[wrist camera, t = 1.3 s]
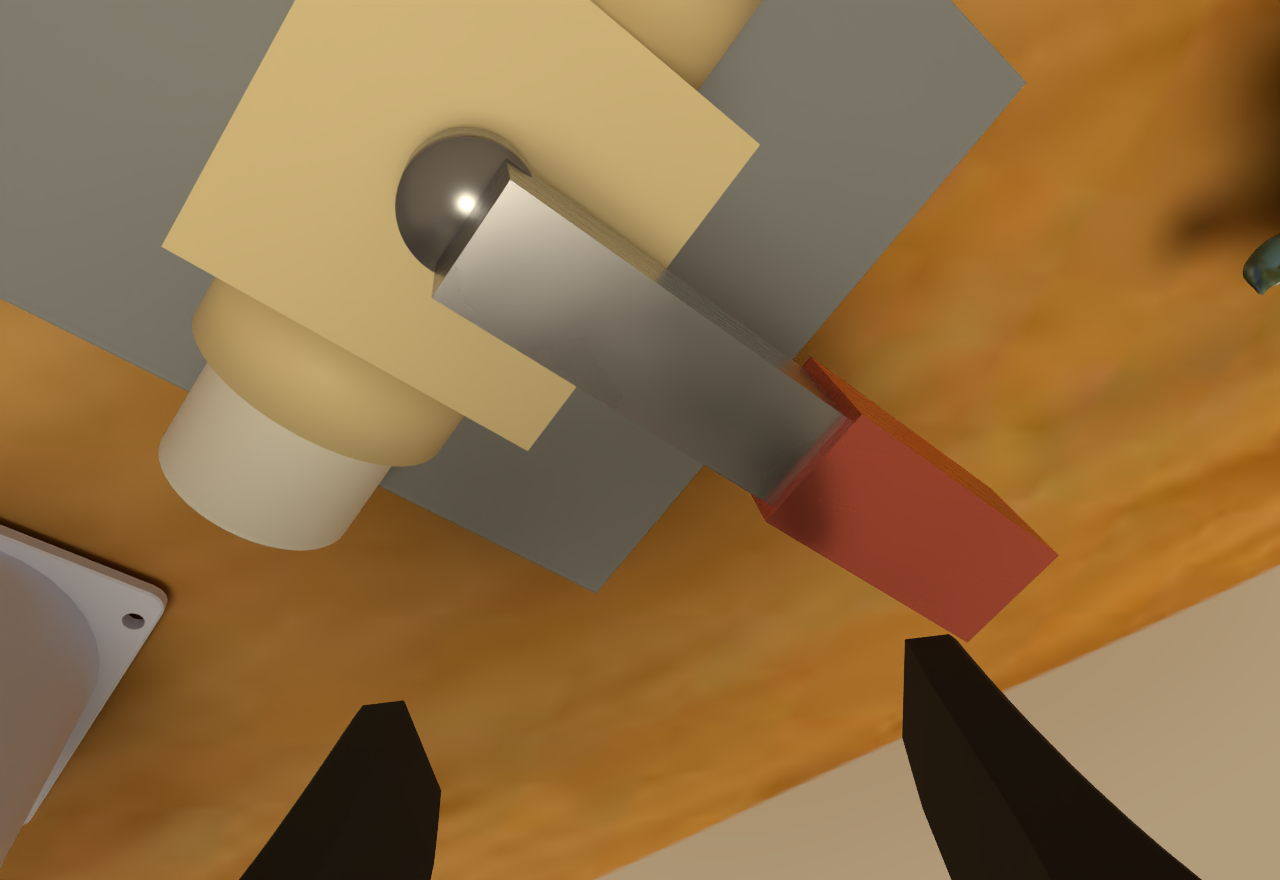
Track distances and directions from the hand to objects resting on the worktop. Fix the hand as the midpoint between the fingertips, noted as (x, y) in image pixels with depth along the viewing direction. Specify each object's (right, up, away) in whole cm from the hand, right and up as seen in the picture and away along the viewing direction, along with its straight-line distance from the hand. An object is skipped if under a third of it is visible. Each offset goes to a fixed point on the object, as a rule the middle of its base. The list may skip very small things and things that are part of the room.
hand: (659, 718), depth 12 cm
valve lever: (+1, +5, +2) cm, 6 cm away
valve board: (-4, +11, +6) cm, 13 cm away
